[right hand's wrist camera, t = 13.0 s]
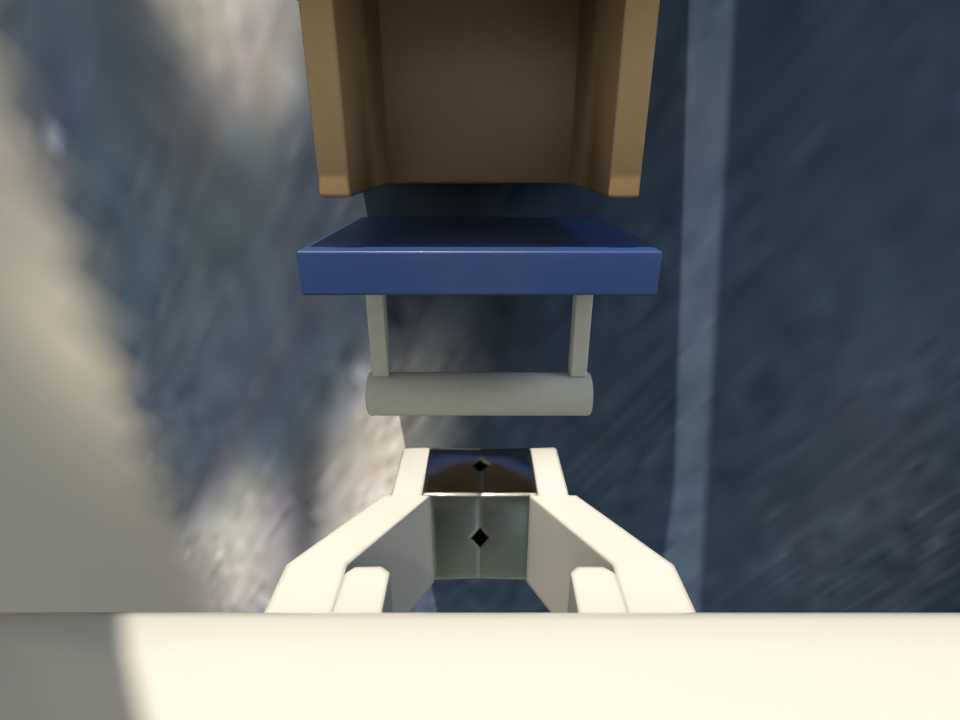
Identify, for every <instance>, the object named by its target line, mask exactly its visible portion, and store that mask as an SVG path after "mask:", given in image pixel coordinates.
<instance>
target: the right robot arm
mask: <svg viewBox="0 0 960 720" xmlns="http://www.w3.org/2000/svg"><path fill="white" fill-rule="evenodd" d="M473 578H486V579H522V580H526V582H527V583H528V585H529V586H530V587H531V588H532V590H533V591H534V592H535V594H536V595H537V596H538V597H539V599H540V600H541V601H542V602H543V604H544V605H545V606H546V607H547V609H548V610H549V611H550V613H410V612H411V610H412V609H413V608H414V607H415V605H416V604H417V603H418V602H419V600H420V599H421V598H422V597H423V595H424V594H425V593H426V591H427V590H428V589H429V588H430V586H431V585H432V584H433V583H434V580H438V579H473ZM0 720H960V613H814V612H761V613H696V612H695V609H694V607H693V605H692V603H691V601H690V599H689V597H688V595H687V592H686V590H685V588H684V586H683V584H682V582H681V580H680V577H679V575H678V573H677V571H676V569H675V567H674V565H673V564H671V563H670V562H668V561H667V560H666V559H664V558H663V557H661V556H660V555H659V554H657V553H656V552H654V551H653V550H652V549H650V548H649V547H647V546H646V545H645V544H643V543H642V542H640V541H639V540H638V539H636V538H635V537H633V536H632V535H631V534H629V533H628V532H626V531H625V530H624V529H622V528H621V527H619V526H618V525H617V524H615V523H614V522H613V521H611V520H610V519H608V518H607V517H606V516H604V515H603V514H601V513H600V512H599V511H597V510H596V509H594V508H593V507H592V506H590V505H589V504H587V503H586V502H585V501H583V500H582V499H580V498H579V497H578V496H576V495H569V494H568V490H567V486H566V483H565V479H564V475H563V471H562V468H561V464H560V460H559V456H558V453H557V449H556V448H554V447H549V448H517V449H463V448H431V449H430V448H429V447H428V448H405V449H404V450H403V452H402V456H401V460H400V463H399V467H398V471H397V475H396V479H395V483H394V486H393V490H392V494H391V495H384V496H382V497H381V498H380V499H378V500H377V501H375V502H374V503H373V504H371V505H370V506H368V507H367V508H366V509H364V510H363V511H361V512H360V513H359V514H357V515H356V516H354V517H353V518H352V519H350V520H349V521H347V522H346V523H345V524H343V525H342V526H340V527H339V528H338V529H336V530H335V531H333V532H332V533H331V534H329V535H328V536H326V537H325V538H323V539H322V540H321V541H319V542H318V543H316V544H315V545H314V546H312V547H311V548H309V549H308V550H307V551H305V552H304V553H302V554H301V555H300V556H298V557H297V558H295V559H294V560H293V561H291V562H290V563H288V564H287V565H286V567H285V570H284V572H283V574H282V576H281V578H280V580H279V582H278V584H277V586H276V588H275V591H274V593H273V595H272V597H271V599H270V601H269V603H268V605H267V607H266V609H265V612H264V613H127V612H125V613H124V612H122V613H121V612H119V613H115V612H107V613H106V612H105V613H103V612H102V613H99V612H98V613H95V612H91V613H90V612H89V613H88V612H85V613H84V612H81V613H76V612H75V613H74V612H73V613H72V612H67V613H65V612H63V613H62V612H56V613H55V612H48V613H47V612H45V613H44V612H41V613H40V612H39V613H37V612H35V613H34V612H33V613H32V612H30V613H29V612H28V613H27V612H25V613H24V612H22V613H21V612H20V613H18V612H14V613H13V612H12V613H11V612H8V613H0Z"/></svg>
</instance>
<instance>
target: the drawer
mask: <svg viewBox="0 0 960 720" xmlns="http://www.w3.org/2000/svg"><path fill="white" fill-rule="evenodd" d="M659 6H660V0H299V9H300V18H301V27H302V36H303V45H304V54H305V63H306V73H307V82H308V91H309V100H310V109H311V118H312V127H313V136H314V146H315V155H316V164H317V173H318V182H319V191H320V195H321V196H322V197H350V196H353V195H356V194H359V193H362V192H365V191H368V190H371V189H373V188H376V187H379V186H382V185H385V184H573V185H576V186H579V187H582V188H585V189H588V190H590V191H593V192H596V193H599V194H602V195H605V196H608V197H611V198H636V197H638V195H639V189H640V180H641V171H642V162H643V152H644V143H645V134H646V125H647V116H648V107H649V97H650V88H651V79H652V70H653V61H654V52H655V42H656V33H657V24H658V15H659ZM296 255H297V263H298V270H299V278H300V286H301V293H302V294H303V295H366V306H367V318H368V329H369V341H370V353H371V365H372V372H371V373H369V375H368V378H367V382H366V407H367V411H368V414H369V415H371V416H588V415H590V414H591V411H592V407H593V383H592V378H591V375H590V373H588V372H587V363H588V351H589V339H590V327H591V316H592V304H593V295H656V294H657V290H658V282H659V275H660V267H661V259H662V251H660V250H658V249H656V248H655V247H653V246H651V245H649V244H647V243H645V242H644V241H642V240H640V239H638V238H636V237H634V236H633V235H631V234H629V233H627V232H625V231H623V230H622V229H620V228H618V227H616V226H614V225H613V224H611V223H609V222H607V221H605V220H603V219H602V218H600V217H360V218H358V219H356V220H354V221H352V222H350V223H348V224H346V225H345V226H343V227H341V228H339V229H337V230H335V231H333V232H332V233H330V234H328V235H326V236H324V237H322V238H321V239H319V240H317V241H315V242H313V243H311V244H309V245H308V246H306V247H304V248H302V249H300V250H298V251H297V252H296ZM386 295H573V307H572V321H571V336H570V350H569V365H568V371H569V372H390V371H391V363H390V349H389V334H388V320H387V305H386Z"/></svg>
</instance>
